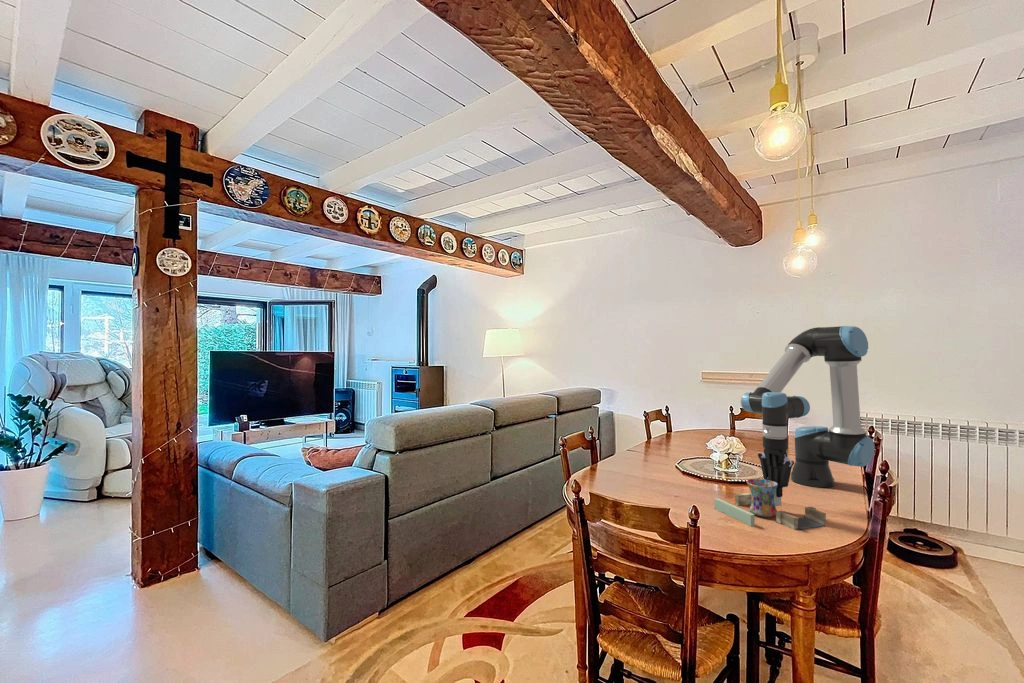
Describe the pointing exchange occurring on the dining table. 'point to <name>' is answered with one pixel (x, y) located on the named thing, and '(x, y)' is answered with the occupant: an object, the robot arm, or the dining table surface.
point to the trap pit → (808, 524)
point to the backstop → (735, 512)
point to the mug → (762, 497)
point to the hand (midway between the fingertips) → (776, 505)
